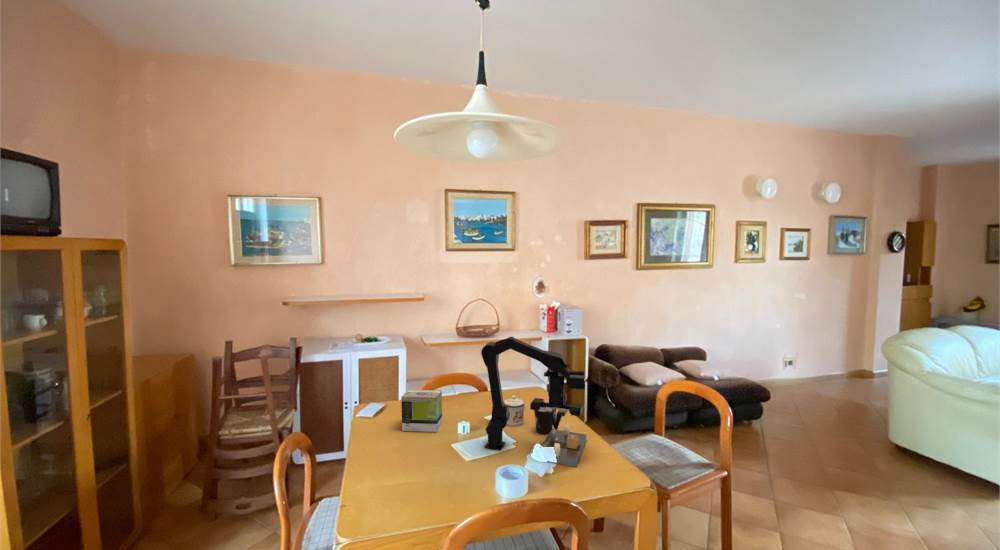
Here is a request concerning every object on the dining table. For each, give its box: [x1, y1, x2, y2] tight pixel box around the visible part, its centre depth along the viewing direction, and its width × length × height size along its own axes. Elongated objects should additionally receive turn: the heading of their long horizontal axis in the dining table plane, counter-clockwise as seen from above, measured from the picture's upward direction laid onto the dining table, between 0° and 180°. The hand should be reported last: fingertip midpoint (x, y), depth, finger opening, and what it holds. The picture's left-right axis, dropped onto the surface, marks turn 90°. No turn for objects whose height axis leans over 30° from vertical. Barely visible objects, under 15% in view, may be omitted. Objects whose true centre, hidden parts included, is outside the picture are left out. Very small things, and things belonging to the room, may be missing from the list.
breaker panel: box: [541, 428, 587, 468], centre depth 156 cm, size 22×14×3 cm, turn 159°
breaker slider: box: [567, 434, 578, 449], centre depth 153 cm, size 4×4×4 cm
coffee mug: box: [533, 407, 554, 436], centre depth 174 cm, size 12×9×10 cm
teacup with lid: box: [503, 395, 526, 427], centre depth 182 cm, size 12×9×12 cm
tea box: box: [400, 389, 443, 433], centre depth 176 cm, size 15×10×15 cm
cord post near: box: [554, 443, 560, 457], centre depth 146 cm, size 2×2×4 cm
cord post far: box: [563, 424, 570, 437], centre depth 162 cm, size 2×2×4 cm
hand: (556, 429), depth 155 cm, fingers closed
